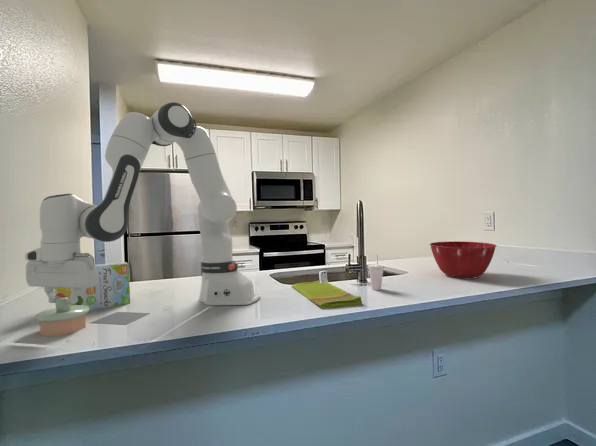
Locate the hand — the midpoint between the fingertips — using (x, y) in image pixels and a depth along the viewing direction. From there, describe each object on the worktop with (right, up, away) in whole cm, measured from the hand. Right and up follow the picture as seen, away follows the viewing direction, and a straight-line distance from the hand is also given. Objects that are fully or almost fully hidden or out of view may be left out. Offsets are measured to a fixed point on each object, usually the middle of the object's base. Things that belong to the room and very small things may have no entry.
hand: (63, 302), depth 91 cm
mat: (+11, -7, +9) cm, 16 cm away
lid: (0, -3, 0) cm, 3 cm away
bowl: (0, -8, 0) cm, 8 cm away
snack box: (-5, -8, +22) cm, 23 cm away
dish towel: (+74, -6, +36) cm, 83 cm away
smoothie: (+97, -5, +43) cm, 106 cm away
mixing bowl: (+143, -4, +67) cm, 158 cm away
